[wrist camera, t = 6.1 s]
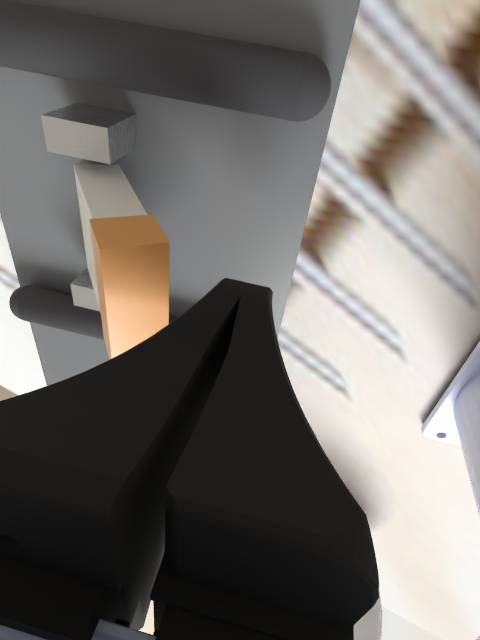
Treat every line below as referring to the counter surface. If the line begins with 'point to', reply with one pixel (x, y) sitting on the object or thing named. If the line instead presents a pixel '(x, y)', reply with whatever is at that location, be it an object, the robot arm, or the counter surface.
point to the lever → (122, 256)
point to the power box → (162, 144)
